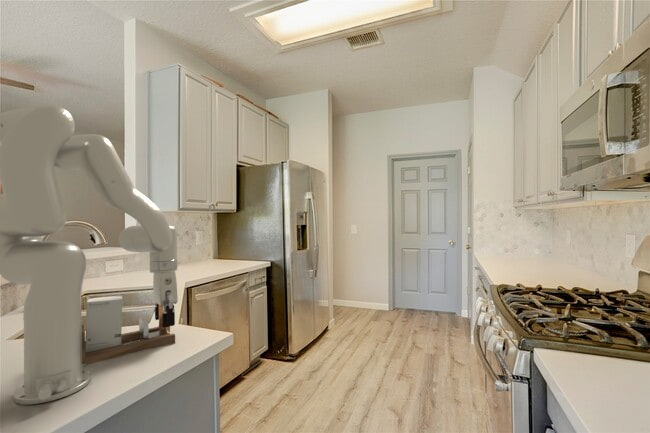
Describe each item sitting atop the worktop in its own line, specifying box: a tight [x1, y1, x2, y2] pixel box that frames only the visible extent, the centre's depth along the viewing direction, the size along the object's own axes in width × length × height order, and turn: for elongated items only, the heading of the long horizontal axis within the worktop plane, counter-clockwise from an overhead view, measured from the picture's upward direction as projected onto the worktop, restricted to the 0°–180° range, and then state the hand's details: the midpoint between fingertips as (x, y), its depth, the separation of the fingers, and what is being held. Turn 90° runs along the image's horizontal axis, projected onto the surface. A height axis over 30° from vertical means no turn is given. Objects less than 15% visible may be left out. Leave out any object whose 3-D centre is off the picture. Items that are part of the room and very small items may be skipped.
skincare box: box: [85, 295, 123, 353], centre depth 90 cm, size 8×6×15 cm
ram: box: [138, 305, 171, 341], centre depth 98 cm, size 7×8×11 cm
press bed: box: [82, 321, 176, 366], centre depth 92 cm, size 12×24×8 cm, turn 129°
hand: (164, 322), depth 99 cm, fingers open, 9 cm apart
